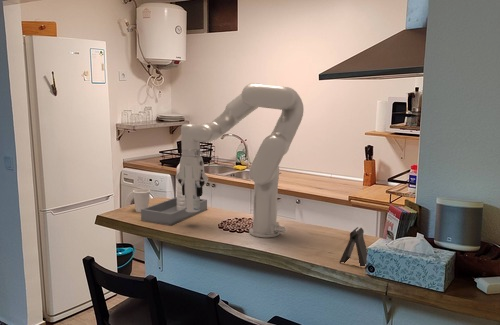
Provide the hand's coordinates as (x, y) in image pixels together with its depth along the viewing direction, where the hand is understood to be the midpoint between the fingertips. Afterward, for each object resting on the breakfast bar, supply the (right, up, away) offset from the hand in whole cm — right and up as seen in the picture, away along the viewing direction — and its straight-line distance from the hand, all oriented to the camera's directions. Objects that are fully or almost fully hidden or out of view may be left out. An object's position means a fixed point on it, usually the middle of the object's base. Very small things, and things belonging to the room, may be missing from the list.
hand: (192, 195), depth 185 cm
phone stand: (+60, -21, -35) cm, 73 cm away
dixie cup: (-27, -9, +24) cm, 38 cm away
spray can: (0, -7, +1) cm, 7 cm away
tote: (-10, -11, +18) cm, 23 cm away
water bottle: (-7, -9, +24) cm, 27 cm away
